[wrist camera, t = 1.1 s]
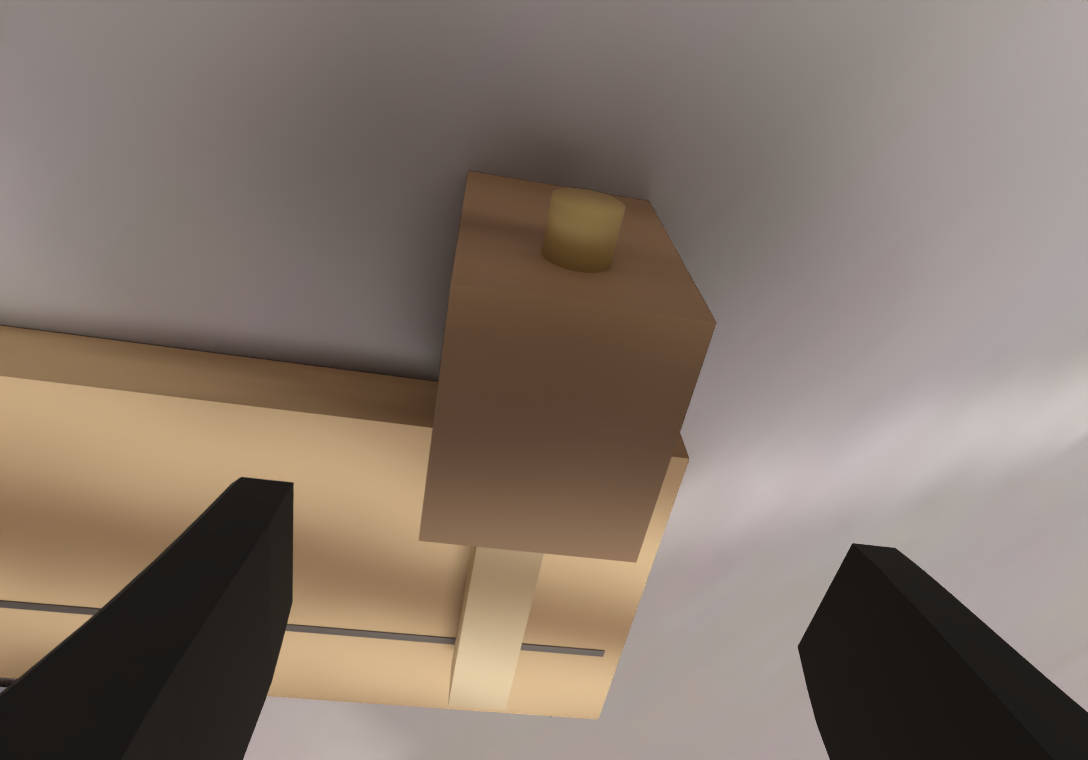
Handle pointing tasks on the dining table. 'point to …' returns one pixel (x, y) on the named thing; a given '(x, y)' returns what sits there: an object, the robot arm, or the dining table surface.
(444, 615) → the board
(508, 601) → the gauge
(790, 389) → the dining table surface
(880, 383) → the dining table surface
